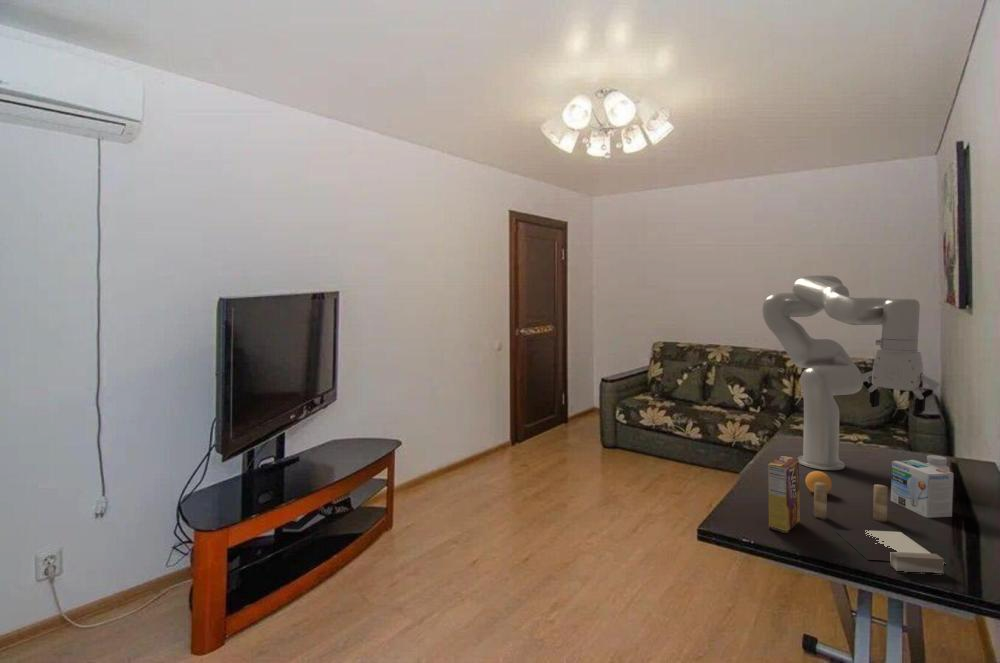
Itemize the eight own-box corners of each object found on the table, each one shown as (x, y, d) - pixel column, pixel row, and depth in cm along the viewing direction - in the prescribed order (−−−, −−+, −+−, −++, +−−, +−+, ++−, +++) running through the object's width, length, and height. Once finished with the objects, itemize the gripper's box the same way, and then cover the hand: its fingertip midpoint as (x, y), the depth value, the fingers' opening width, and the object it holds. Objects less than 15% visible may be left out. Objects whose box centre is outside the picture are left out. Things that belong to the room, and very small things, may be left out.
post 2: (870, 516, 121) (871, 484, 121) (882, 517, 121) (883, 484, 121) (877, 521, 119) (877, 488, 118) (889, 522, 118) (890, 488, 118)
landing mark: (832, 529, 115) (832, 528, 115) (900, 532, 113) (900, 531, 113) (867, 560, 101) (867, 559, 101) (945, 564, 99) (945, 563, 99)
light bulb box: (889, 501, 131) (890, 460, 130) (913, 500, 131) (914, 459, 131) (927, 518, 120) (928, 474, 120) (953, 517, 121) (955, 472, 120)
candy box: (780, 517, 122) (781, 454, 121) (800, 522, 119) (801, 458, 118) (766, 528, 116) (767, 463, 115) (787, 534, 113) (788, 467, 112)
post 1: (811, 514, 123) (812, 482, 123) (823, 514, 123) (823, 482, 123) (816, 518, 121) (817, 486, 120) (828, 519, 120) (829, 486, 120)
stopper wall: (890, 566, 99) (890, 551, 99) (935, 569, 98) (936, 553, 97) (896, 571, 97) (896, 556, 97) (943, 574, 96) (943, 559, 96)
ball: (801, 488, 140) (801, 467, 140) (824, 489, 139) (825, 468, 139) (811, 497, 134) (811, 474, 134) (835, 498, 133) (836, 475, 133)
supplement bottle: (954, 497, 133) (955, 460, 132) (930, 495, 134) (931, 459, 133) (940, 489, 138) (941, 454, 138) (918, 488, 139) (919, 453, 139)
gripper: (855, 344, 138) (852, 405, 140) (934, 349, 123) (931, 418, 125) (868, 342, 142) (865, 402, 143) (946, 347, 127) (943, 414, 129)
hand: (896, 409), depth 134 cm, fingers open, 9 cm apart
